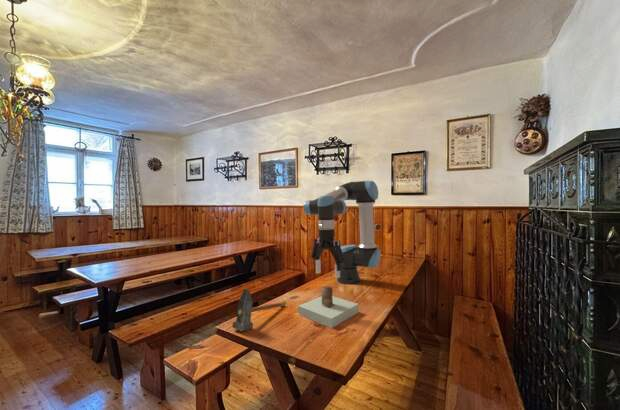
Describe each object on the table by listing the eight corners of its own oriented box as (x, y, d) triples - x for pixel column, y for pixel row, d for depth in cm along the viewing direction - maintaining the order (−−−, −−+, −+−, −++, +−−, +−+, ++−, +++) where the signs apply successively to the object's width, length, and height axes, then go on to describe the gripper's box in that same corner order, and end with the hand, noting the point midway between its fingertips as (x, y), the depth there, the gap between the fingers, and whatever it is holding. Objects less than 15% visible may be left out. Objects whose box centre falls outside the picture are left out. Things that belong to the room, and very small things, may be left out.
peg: (326, 309, 125) (325, 285, 125) (335, 312, 122) (334, 287, 121) (319, 313, 121) (318, 288, 121) (328, 316, 118) (327, 290, 117)
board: (326, 301, 135) (325, 294, 135) (358, 312, 121) (358, 303, 121) (298, 314, 121) (298, 305, 121) (331, 328, 107) (331, 318, 107)
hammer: (290, 286, 131) (247, 290, 107) (286, 319, 129) (242, 331, 104) (281, 284, 135) (237, 288, 110) (277, 316, 132) (232, 328, 107)
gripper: (303, 228, 126) (304, 272, 126) (341, 231, 110) (343, 282, 110) (313, 226, 131) (314, 269, 132) (352, 229, 115) (353, 278, 115)
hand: (327, 275), depth 121 cm, fingers open, 11 cm apart
